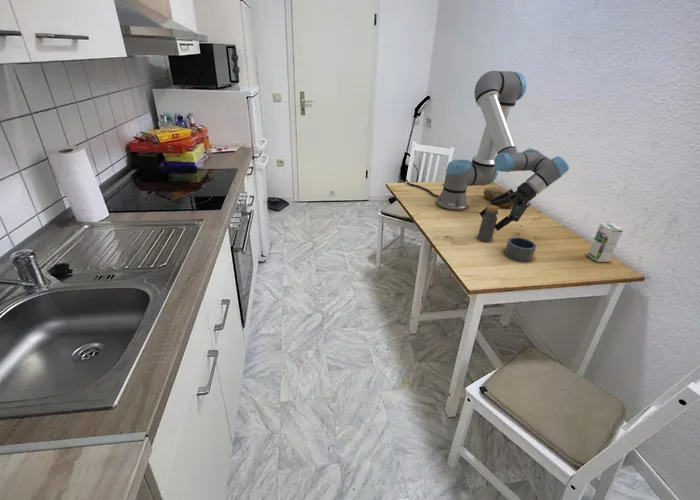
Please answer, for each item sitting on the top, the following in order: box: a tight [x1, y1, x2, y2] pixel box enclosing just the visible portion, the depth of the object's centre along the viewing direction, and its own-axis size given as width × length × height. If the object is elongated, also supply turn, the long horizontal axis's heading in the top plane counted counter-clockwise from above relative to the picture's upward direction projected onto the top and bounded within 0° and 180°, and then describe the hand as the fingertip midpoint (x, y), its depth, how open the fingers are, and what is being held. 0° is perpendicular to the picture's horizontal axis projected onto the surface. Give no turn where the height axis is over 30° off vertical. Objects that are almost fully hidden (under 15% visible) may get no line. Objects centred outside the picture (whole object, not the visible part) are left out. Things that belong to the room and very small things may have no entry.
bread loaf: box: [483, 187, 513, 209], centre depth 198 cm, size 13×8×20 cm
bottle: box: [477, 204, 500, 243], centre depth 153 cm, size 6×6×15 cm
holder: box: [504, 236, 537, 263], centre depth 144 cm, size 10×10×6 cm
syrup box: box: [586, 222, 624, 263], centre depth 142 cm, size 6×6×14 cm
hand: (487, 222), depth 153 cm, fingers open, 13 cm apart
